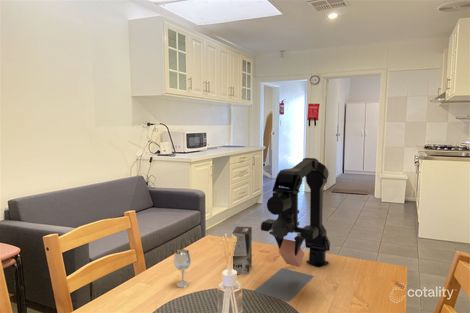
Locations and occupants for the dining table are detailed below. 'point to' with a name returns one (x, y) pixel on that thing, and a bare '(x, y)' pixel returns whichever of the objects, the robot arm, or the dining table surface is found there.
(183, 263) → the wineglass
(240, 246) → the coffee box
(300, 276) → the mat
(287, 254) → the red block
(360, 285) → the dining table surface
